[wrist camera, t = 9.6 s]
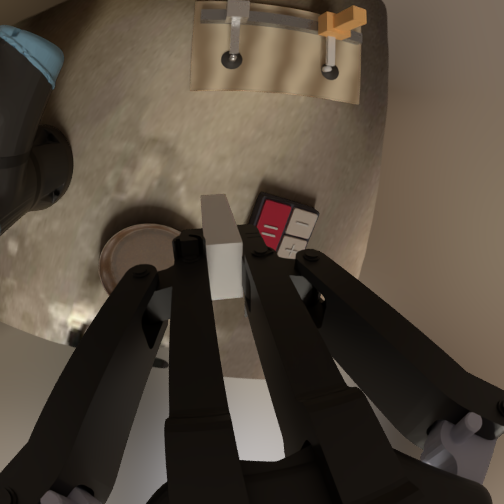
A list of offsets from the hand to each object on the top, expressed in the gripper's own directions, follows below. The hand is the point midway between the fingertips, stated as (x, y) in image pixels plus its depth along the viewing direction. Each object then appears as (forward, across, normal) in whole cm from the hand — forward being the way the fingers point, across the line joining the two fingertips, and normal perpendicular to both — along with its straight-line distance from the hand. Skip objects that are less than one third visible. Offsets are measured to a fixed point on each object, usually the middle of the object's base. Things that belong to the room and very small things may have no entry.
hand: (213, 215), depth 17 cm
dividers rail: (+27, +12, +19) cm, 35 cm away
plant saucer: (+29, -10, -21) cm, 37 cm away
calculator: (+29, +12, -16) cm, 35 cm away
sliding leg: (+26, +19, +19) cm, 37 cm away
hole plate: (+28, +12, +18) cm, 36 cm away
